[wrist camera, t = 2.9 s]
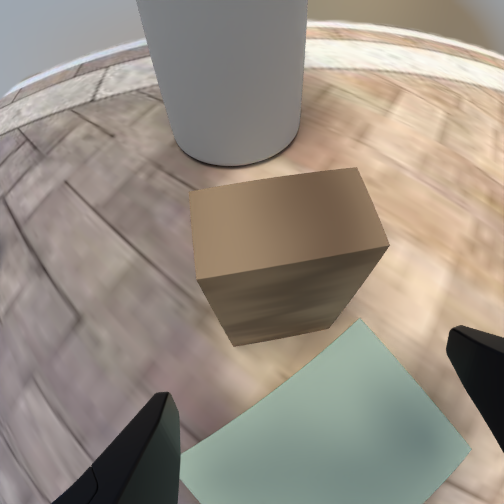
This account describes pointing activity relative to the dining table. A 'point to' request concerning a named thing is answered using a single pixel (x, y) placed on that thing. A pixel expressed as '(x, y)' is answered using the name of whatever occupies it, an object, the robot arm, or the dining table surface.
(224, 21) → the cylinder vase
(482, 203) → the dining table surface
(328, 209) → the walnut slab
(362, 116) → the dining table surface
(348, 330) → the mat
